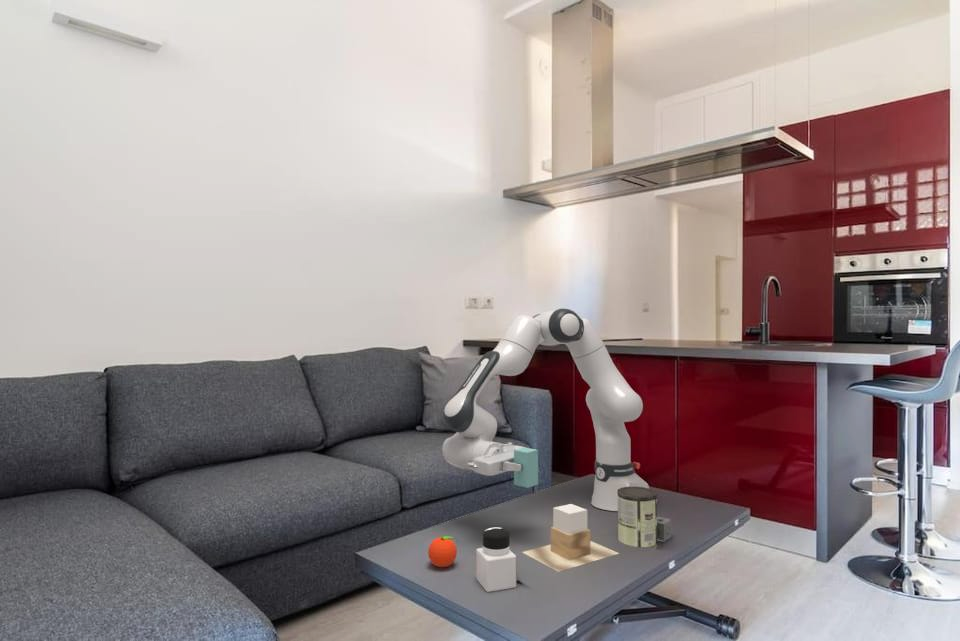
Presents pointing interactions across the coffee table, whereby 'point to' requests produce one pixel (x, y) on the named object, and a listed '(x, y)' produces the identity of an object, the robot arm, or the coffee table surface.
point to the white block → (570, 519)
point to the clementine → (442, 551)
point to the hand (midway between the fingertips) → (528, 465)
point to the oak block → (570, 544)
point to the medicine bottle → (496, 561)
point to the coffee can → (637, 516)
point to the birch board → (561, 563)
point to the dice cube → (663, 528)
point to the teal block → (526, 467)
